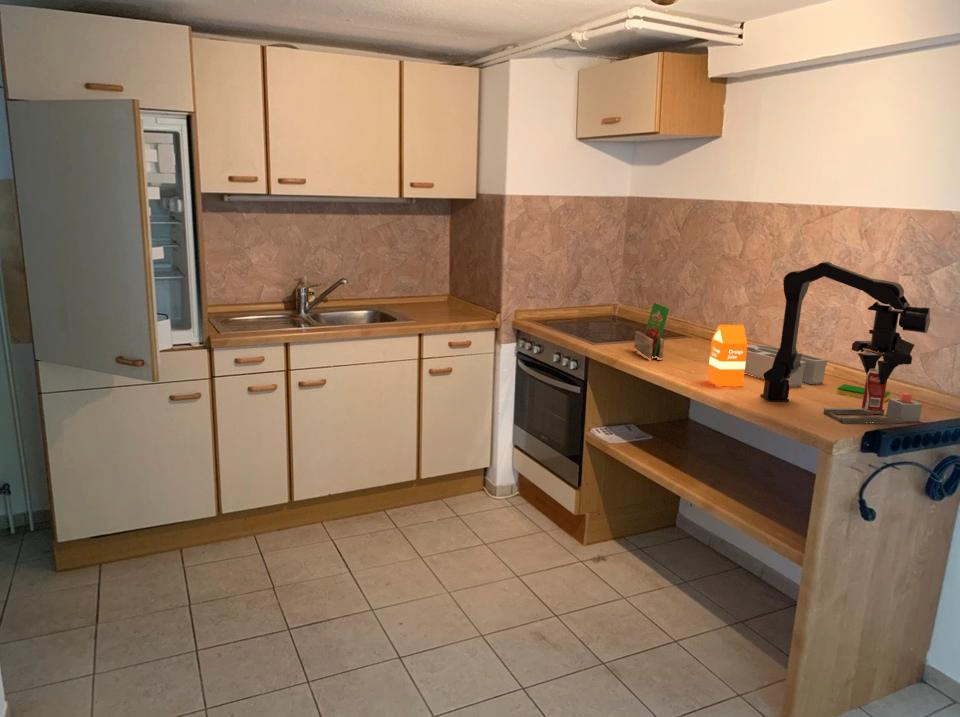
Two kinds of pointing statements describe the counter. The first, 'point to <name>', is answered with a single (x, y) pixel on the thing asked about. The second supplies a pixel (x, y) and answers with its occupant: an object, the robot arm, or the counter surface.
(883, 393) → the soda can
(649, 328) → the tomato puree packet
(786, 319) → the robot arm
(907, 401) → the plunger
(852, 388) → the dish sponge
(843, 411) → the grey shallow tray
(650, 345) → the packet holder
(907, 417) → the grey push button box
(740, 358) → the orange juice
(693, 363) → the counter surface
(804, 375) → the grey compartment organizer
